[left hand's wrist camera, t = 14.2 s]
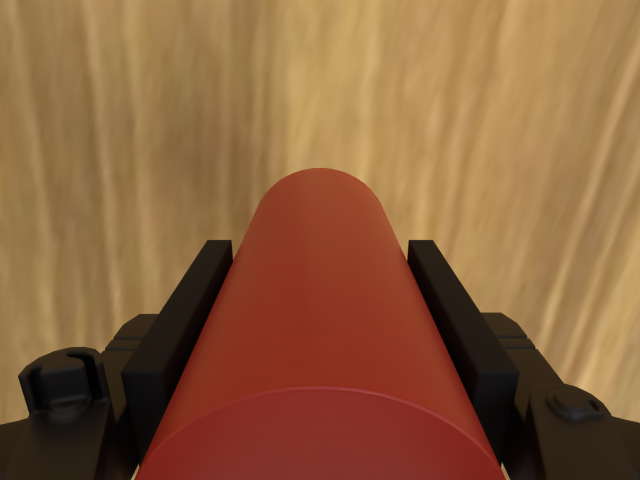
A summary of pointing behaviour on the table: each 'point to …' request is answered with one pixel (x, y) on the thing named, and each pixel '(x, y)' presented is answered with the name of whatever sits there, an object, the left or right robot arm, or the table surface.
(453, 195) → the table surface
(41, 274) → the table surface
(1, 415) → the table surface
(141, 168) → the table surface
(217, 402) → the can
